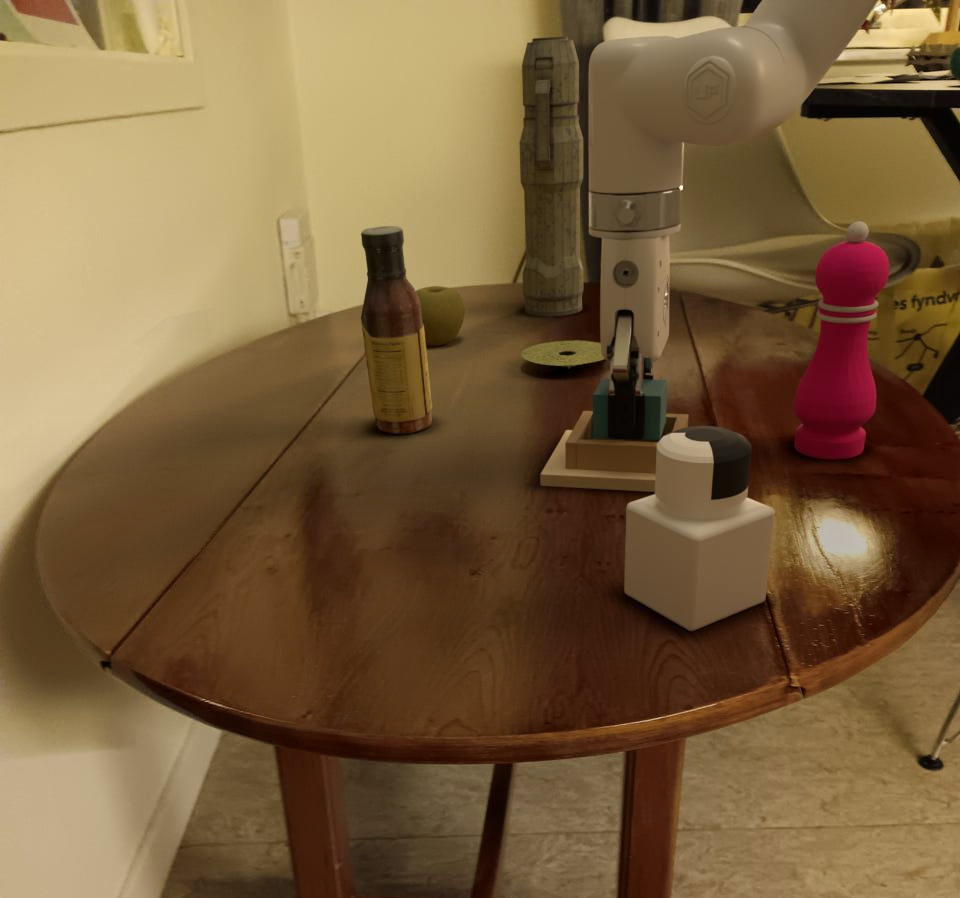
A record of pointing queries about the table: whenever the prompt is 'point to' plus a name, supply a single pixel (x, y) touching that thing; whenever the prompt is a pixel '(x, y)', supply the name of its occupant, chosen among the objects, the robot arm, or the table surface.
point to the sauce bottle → (394, 337)
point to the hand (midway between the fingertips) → (630, 425)
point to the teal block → (653, 408)
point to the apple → (440, 314)
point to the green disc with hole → (564, 353)
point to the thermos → (551, 177)
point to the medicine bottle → (699, 531)
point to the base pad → (605, 458)
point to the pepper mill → (841, 350)
